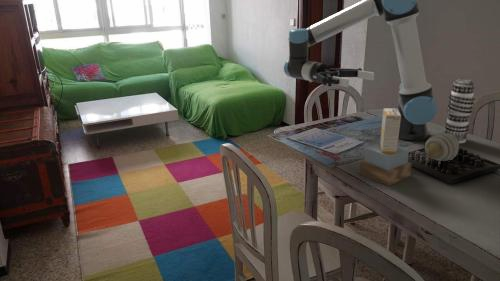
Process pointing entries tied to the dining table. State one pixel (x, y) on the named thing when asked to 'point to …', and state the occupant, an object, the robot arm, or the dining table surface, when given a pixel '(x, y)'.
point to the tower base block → (385, 172)
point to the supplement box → (390, 130)
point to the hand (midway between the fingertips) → (361, 79)
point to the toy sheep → (442, 146)
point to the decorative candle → (460, 109)
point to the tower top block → (386, 157)
